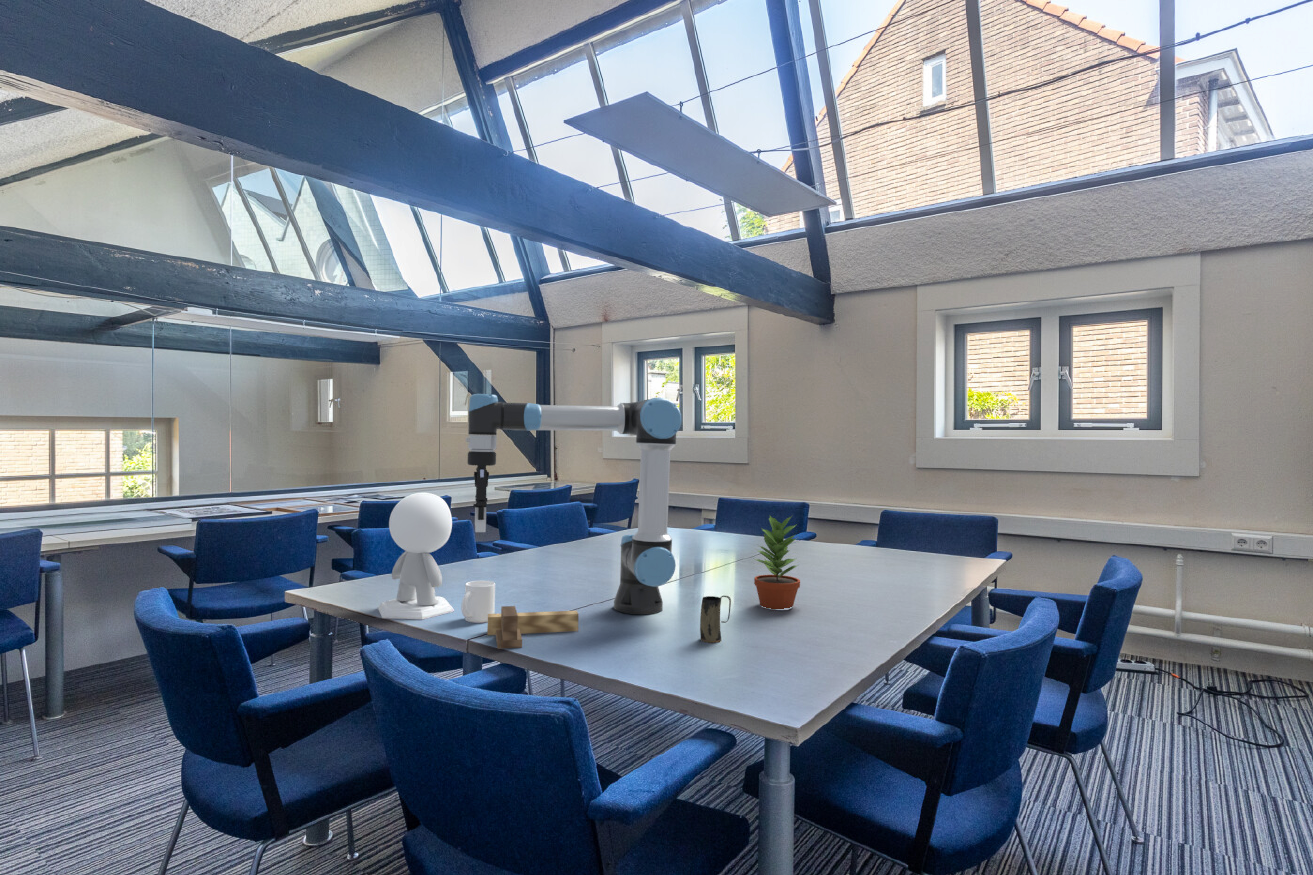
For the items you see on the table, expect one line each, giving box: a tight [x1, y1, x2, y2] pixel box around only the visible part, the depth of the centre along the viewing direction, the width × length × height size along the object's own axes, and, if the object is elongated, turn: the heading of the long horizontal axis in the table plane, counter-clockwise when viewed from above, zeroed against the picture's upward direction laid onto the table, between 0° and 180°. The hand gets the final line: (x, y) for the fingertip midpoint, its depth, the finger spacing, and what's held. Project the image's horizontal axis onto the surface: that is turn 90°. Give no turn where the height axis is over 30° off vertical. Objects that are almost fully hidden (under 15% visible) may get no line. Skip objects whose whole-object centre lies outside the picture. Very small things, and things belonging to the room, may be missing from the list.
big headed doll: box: [377, 492, 455, 621], centre depth 206 cm, size 20×23×35 cm
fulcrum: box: [495, 605, 523, 650], centre depth 177 cm, size 6×10×8 cm, turn 15°
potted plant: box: [753, 515, 801, 609], centre depth 221 cm, size 15×15×30 cm
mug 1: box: [460, 580, 496, 624], centre depth 196 cm, size 12×8×10 cm
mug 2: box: [699, 595, 732, 644], centre depth 183 cm, size 8×6×12 cm
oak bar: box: [487, 610, 580, 636], centre depth 187 cm, size 24×4×5 cm, turn 105°
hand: (480, 528), depth 188 cm, fingers open, 13 cm apart
